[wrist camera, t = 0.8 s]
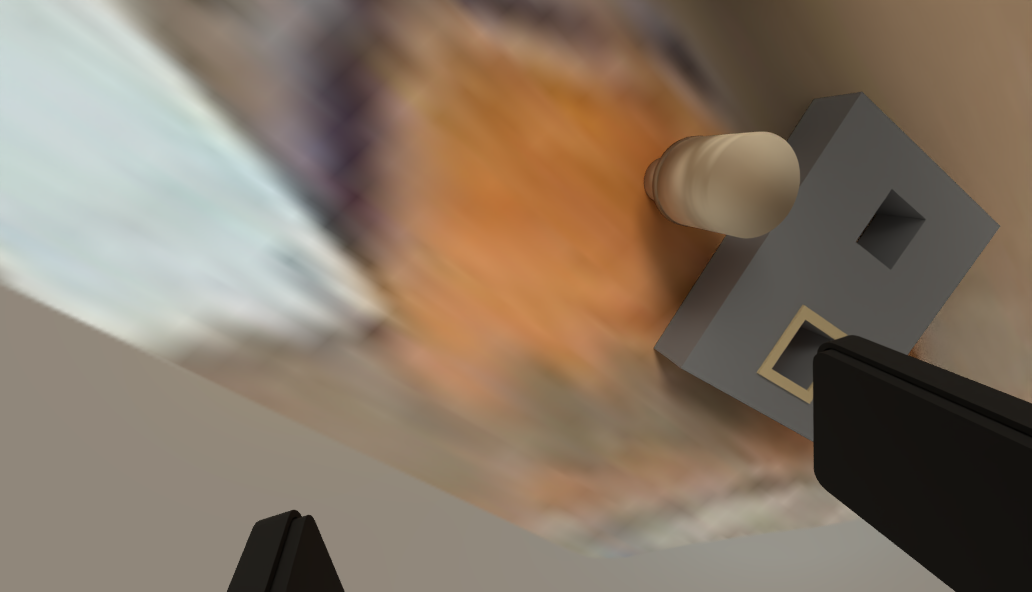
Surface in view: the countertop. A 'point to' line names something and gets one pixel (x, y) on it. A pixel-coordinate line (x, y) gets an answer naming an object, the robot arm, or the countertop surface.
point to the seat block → (830, 263)
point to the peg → (726, 182)
